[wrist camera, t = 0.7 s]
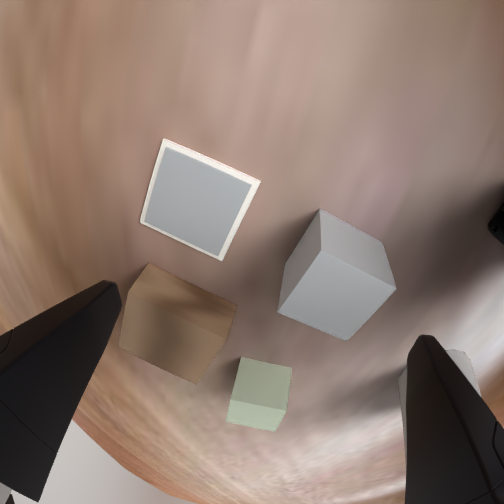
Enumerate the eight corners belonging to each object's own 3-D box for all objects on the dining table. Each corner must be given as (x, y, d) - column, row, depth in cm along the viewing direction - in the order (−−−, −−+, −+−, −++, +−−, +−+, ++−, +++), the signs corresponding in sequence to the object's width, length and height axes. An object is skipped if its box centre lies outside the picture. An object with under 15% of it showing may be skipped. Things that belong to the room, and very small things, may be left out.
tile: (261, 181, 19) (260, 183, 19) (222, 259, 23) (221, 262, 23) (164, 138, 19) (161, 139, 18) (141, 221, 22) (138, 223, 22)
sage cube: (292, 366, 29) (286, 410, 25) (280, 392, 32) (274, 431, 28) (241, 356, 29) (230, 399, 25) (235, 382, 32) (225, 421, 28)
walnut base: (238, 303, 26) (227, 339, 22) (207, 352, 30) (196, 384, 27) (150, 260, 25) (128, 291, 22) (134, 317, 29) (117, 346, 26)
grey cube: (382, 241, 20) (396, 288, 16) (343, 291, 23) (346, 341, 19) (319, 207, 20) (321, 249, 16) (284, 263, 23) (277, 312, 18)
